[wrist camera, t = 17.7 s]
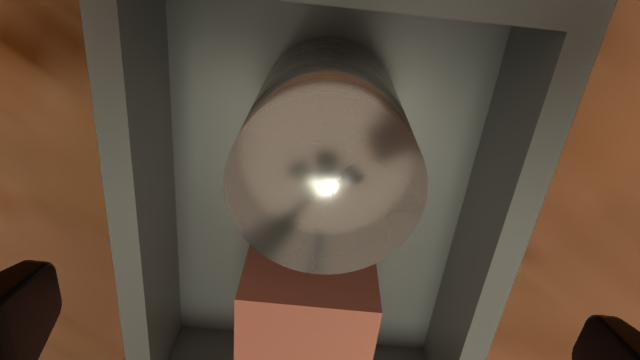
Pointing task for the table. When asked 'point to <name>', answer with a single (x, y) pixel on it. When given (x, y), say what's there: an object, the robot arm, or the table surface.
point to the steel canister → (326, 162)
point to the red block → (305, 313)
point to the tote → (421, 111)
